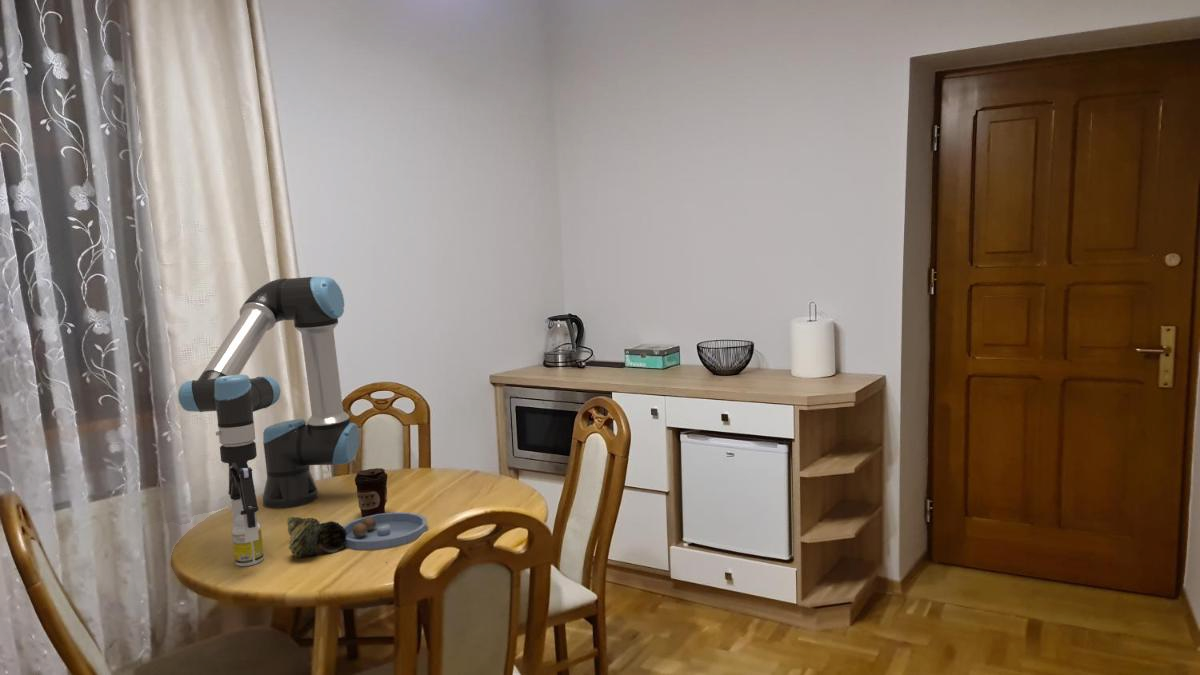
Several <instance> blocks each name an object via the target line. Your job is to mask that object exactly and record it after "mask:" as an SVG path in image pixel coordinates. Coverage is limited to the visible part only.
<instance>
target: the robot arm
mask: <svg viewBox="0 0 1200 675" xmlns="http://www.w3.org/2000/svg"><path fill="white" fill-rule="evenodd" d="M344 308H345V298H344V294H343V291H342V289H341V287H340V285H339V284H338V283H337V282H336V280H335V279H333V278H332V277H327V276H308V277H307V276H305V277H293V278H292V277H291V278H277V279H273V280H271V281H269V282H267V283H266V284H263V285H262V286H261V287H259V288H258V289H256V290H255V291H254V292H253V293H251V295H250V296H248V298H247V299H246V300H245V301H244V302H243V304H242V306H241V307H240V309H239V318H238V319H237V320H236V322H235V324H234V325H233V326H232V328H231V330H229V332H228V334H227V335H226V337H225V338H224V340H223V342H222V343H221V344H220V346H219V347H218V349H217V351H216V352H215V354H214V355H213V356H212V358H211V360H210V361H209V363H208V364H207V366H206V367H205V369H204V370H203V372H202V373H201V375H200V376H199V377H198V379H197V380H196V379H191V380H187V381H185V382H183V383H182V384H181V386H180V387H179V390H178V393H177V394H178V396H177V397H178V402H179V404H180V407H181V408H182V409H183V410H185V411H187V412H199V413H203V412H204V413H205V412H206V413H207V412H216V417H217V418H216V419H217V428H218V430H217V431H215V435H216V436H218V440H219V444H220V445H221V446H220V447H219V452H220V453H219V454H220V461H221V462H222V463H224V464H228V492H227V493H228V495H229V496H230V497H229V498H230V504H231V513H232V525H233V527H235V526H236V525H235V523H234V517H235V516H237V515H240V514H241V515H243V522H244V533H245V542H246V543H247V542H251V541H256V540H259V535H258V524H257V523H258V516H257V512H258V511H259V506H258V501H257V495H256V489H255V485H254V477H253V469H252V467H249V465H248V462H249V461H252V460H255V459H256V458H257V455H258V454H257V453H258V452H257V443H256V442H255V440H256V430H255V429H256V428H255V427H256V426H255V421H254V412H257V411H260V410H263V409H268V408H269V407H271V406H273V405H274V404H275V403H277V402H278V400H279V399H280V396H281V387H280V385H279V383H278V381H276V380H275V378H273V377H271V376H266V375H265V376H257V377H255V378H250V377H249V376H248V375H247V374H241V373H242V371H243V369H244V368H245V366H246V364H247V363H248V361H249V360H250V358H251V356H252V355H253V353H254V351H255V350H256V348H257V346H258V345H259V343H260V342H261V340H262V338H263V337H264V336H265V334H266V332H267V331H270V330H272V329H273V328H274V327H275V325H276V323H278V322H281V321H293V326H294V329H296V330H297V331H298V332H300V334H301V341H302V349H303V357H304V364H305V372H306V380H307V381H306V382H307V388H308V396H309V404H310V405H309V406H310V410H311V416H310V417H309V418H308V420H307V421H306V419H304V418H302V419H301V418H295V419H291V420H285V421H281V422H279V423H274V424H272V425H269V426H267V427H265V429H264V430H263V432H262V434H263V435H262V436H263V437H262V438H263V439H262V440H263V441H262V442H263V443H262V444H263V453H264V459H265V469H266V481H265V485H264V490H263V494H262V505H263V506H264V507H265V508H269V509H287V508H294V507H299V506H304V505H306V504H309V503H312V502H315V500H317V499H319V490H318V487H317V485H316V482H315V481H314V478H313V475H312V474H311V471H310V470H311V469H310V466H338V465H347V464H350V463H351V462H352V461H353V460H354V459H355V457H356V455H357V453H358V451H359V446H360V438H361V437H360V433H361V432H360V429H359V426H358V424H356V423H354V422H351V419H350V415H349V413H347V412H345V411H344V406H343V400H342V399H343V398H342V390H341V388H342V387H341V382H340V381H341V380H340V374H339V365H338V356H337V349H336V348H337V347H336V340H335V333H334V332H335V330H334V329H335V328H336V327H337V325H338V324H339V318H341V317H342V316H343V314H344V312H345V309H344Z"/></svg>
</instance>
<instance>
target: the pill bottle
mask: <svg viewBox="0 0 1200 675" xmlns="http://www.w3.org/2000/svg"><path fill="white" fill-rule="evenodd" d="M234 523H235V525H236V526H235V527H234V526H233V528H231V529H232V530H231V537H232V546H233V555H234V564H235V565H236V566H239V567H249V566H254V565H256V564H259V563H261V562H263V561H264V558H265V556H264V546H263V535H262V527H261V525H260V523H259V522H257V524H258V535H259V540H256V541H251V542H247V543H246V542H245V533H244V522H243V515H241V514H240V515H237V516H235V517H234Z"/></svg>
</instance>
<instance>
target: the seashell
mask: <svg viewBox="0 0 1200 675" xmlns="http://www.w3.org/2000/svg"><path fill="white" fill-rule="evenodd" d="M286 524H287V526H288V527H287V532H288V535H289V536H290V538H289V539H290V540H289V543H288V549H289V550H290V552H291V554H292V555H294V556H295V557H297V558H301V559H302V558H309V557H310V558H311V557H315V556H319V555H326V554H334V553H337V552H338V551H339V550H341V549H342V548H344V545H345V543H346V535H347V532H346V530H345V529H344V528H343V526H344V525H342V524H341V523H339V522H336V521H333V520H331V521H327V522H322V523H320V521H319V520H318V519H316V518H314V517H306V518H302V517H298V516H297V517H294V516H289V517H288V518H287V523H286Z"/></svg>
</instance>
